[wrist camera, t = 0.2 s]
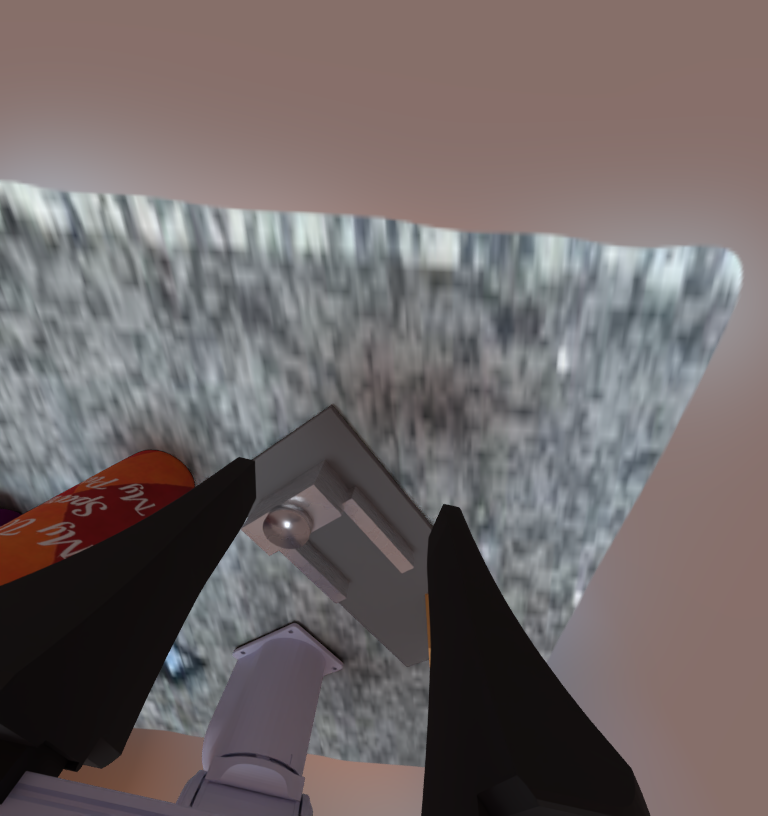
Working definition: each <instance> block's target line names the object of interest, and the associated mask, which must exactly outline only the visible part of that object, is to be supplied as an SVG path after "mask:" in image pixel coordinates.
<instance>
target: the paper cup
mask: <svg viewBox="0 0 768 816" xmlns="http://www.w3.org/2000/svg"><path fill="white" fill-rule="evenodd" d="M193 488H195V484H194V479H193V477H192V475H191V473H190V471H189V470H188V468H187V467H186V466H185V465H184V464H183V463H182V462H181V461H180V460H178V459H177V458H175V457H174V456H172V455H170V454H168V453H165V452H162V451H158V450H145V451H141V452H139V453H136V454H134V455H132V456H130V457H128V458H126V459H124V460H122V461H120V462H119V463H117V464H115V465H113V466H111V467H109V468H107V469H105V470H104V471H102V472H100V473H98V474H96V475H94V476H92V477H91V478H89V479H87V480H85V481H83V482H81V483H80V484H78V485H76V486H74V487H72V488H70V489H68V490H67V491H65V492H63V493H61V494H59V495H57V496H56V497H54V498H52V499H50V500H48V501H46V502H45V503H43V504H41V505H39V506H37V507H36V508H34V509H32V510H30V511H28V512H26V513H25V514H23V515H21V516H19V517H17V518H15V519H14V520H12V521H10V522H8V523H6V524H4V525H3V526H1V527H0V586H1V585H3V584H6V583H9V582H11V581H14V580H16V579H18V578H21V577H23V576H26V575H28V574H31V573H33V572H35V571H38V570H40V569H42V568H45V567H47V566H49V565H52V564H54V563H56V562H59V561H61V560H63V559H66V558H68V557H70V556H72V555H74V554H76V553H78V552H81V551H83V550H85V549H87V548H89V547H91V546H93V545H95V544H97V543H99V542H101V541H103V540H105V539H107V538H109V537H111V536H113V535H115V534H117V533H119V532H121V531H123V530H125V529H127V528H129V527H130V526H132V525H134V524H136V523H138V522H139V521H141V520H143V519H145V518H147V517H148V516H150V515H152V514H153V513H155V512H157V511H158V510H160V509H162V508H163V507H165V506H167V505H168V504H170V503H171V502H173V501H175V500H176V499H178V498H179V497H181V496H183V495H184V494H186V493H187V492H189V491H190V490H192V489H193Z"/></svg>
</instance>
